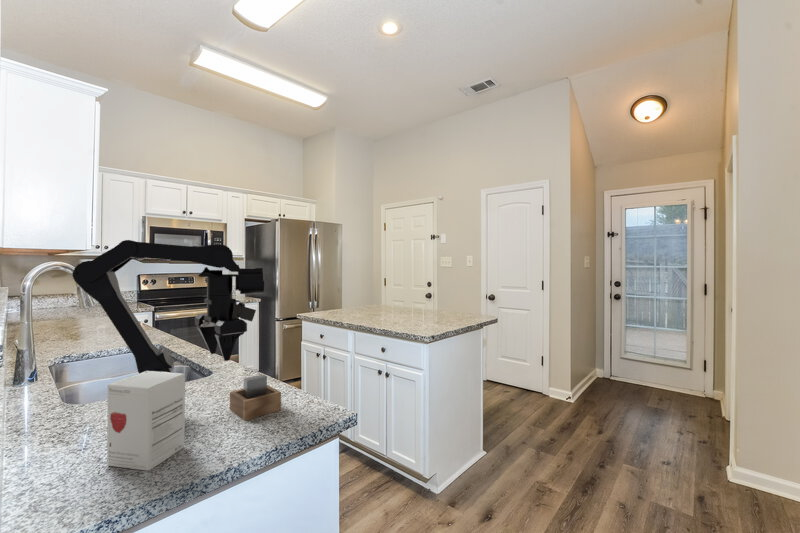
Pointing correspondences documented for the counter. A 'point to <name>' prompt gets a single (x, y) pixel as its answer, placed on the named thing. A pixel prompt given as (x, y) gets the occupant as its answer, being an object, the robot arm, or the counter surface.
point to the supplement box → (145, 419)
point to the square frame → (255, 403)
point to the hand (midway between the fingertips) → (219, 357)
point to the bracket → (255, 386)
